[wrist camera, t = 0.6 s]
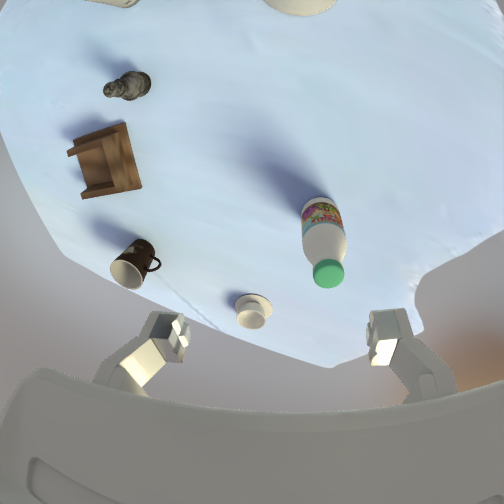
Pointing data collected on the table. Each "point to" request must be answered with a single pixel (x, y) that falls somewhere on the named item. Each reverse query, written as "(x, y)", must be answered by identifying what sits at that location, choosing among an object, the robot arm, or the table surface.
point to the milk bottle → (324, 241)
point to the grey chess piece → (128, 86)
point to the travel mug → (117, 2)
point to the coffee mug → (134, 264)
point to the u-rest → (106, 162)
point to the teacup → (252, 311)
